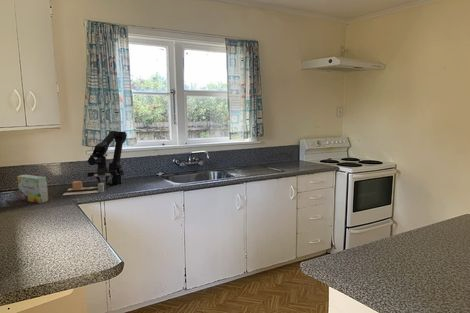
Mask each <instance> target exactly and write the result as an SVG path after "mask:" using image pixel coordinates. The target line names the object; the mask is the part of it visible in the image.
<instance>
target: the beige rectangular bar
mask: <svg viewBox="0 0 470 313" xmlns="http://www.w3.org/2000/svg"><path fill="white" fill-rule="evenodd" d="M100 179H101V178H100ZM100 183H104V189H106V187H107V185H106V178H103V179H101V181H100ZM94 189H95V190H96V189H97V190H98V186H89V187H82V189H81V190H80V191H82V190H94ZM68 191H74V190H73V188H68V189H67V192H68Z"/></svg>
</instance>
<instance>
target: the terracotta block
mask: <svg viewBox="0 0 470 313" xmlns="http://www.w3.org/2000/svg"><path fill="white" fill-rule="evenodd" d="M71 185H72V189H73V190H72V191H82V190H81V189H82V188H83V181H82V180H75V181H74V180H73V181H72V184H71Z"/></svg>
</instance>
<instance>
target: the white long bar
mask: <svg viewBox="0 0 470 313" xmlns="http://www.w3.org/2000/svg"><path fill="white" fill-rule="evenodd" d="M97 187H98V188H97V190H87V191H86V190H85V191H73V192H64V193H63V194H62V196H68V195H72V196H73V195H83V194H84V195H85V194H97V193H103V192H104V191H105V188H104V183H99V182H98V183H97Z"/></svg>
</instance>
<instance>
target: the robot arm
mask: <svg viewBox="0 0 470 313" xmlns="http://www.w3.org/2000/svg"><path fill="white" fill-rule="evenodd" d="M127 136H128V134H127V133H126V132H125V131H118V130H110V131H109V133H108V134H107V136H106V137H105V138H104V139H103V140H102V141H101V142H98V143H97V144H96V145H95V146H94V148H93V151H92V152H91V155H90V157H89V158H88V159H87V162H88V165H89V166H95V165H97V169H96V171H95V170H93V171H88V172H87V177H88V178H89V177H94V178H96V180H97V181H98V183H100V181H101V176H105V179H106V186H107V184H108V181H109V179H110V177H111V176H112V177H111V184H112V185H122V184H123V179H122V177H123V176H124V174H125V173H124V170H123V169H122V164H121V159H122V158H121V157H122V153H123V152H122V150H123V144H124V143H125V142H126V141H127ZM113 141H114V142H115V144H114V145H115V146H114V151H113V156H112V157H113V158H112V161H111V162H109V164H108V167H107V156H109V155H108V154H107V152H108V150H109V146H110V144H111V143H112V142H113Z"/></svg>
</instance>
